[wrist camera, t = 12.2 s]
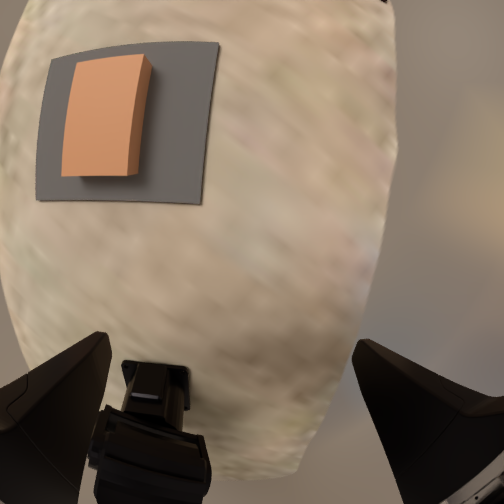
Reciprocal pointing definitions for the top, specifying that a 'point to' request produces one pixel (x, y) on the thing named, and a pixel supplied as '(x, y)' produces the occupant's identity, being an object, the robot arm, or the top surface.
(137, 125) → the tile
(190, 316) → the top surface
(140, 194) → the mat
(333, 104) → the top surface
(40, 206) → the top surface
